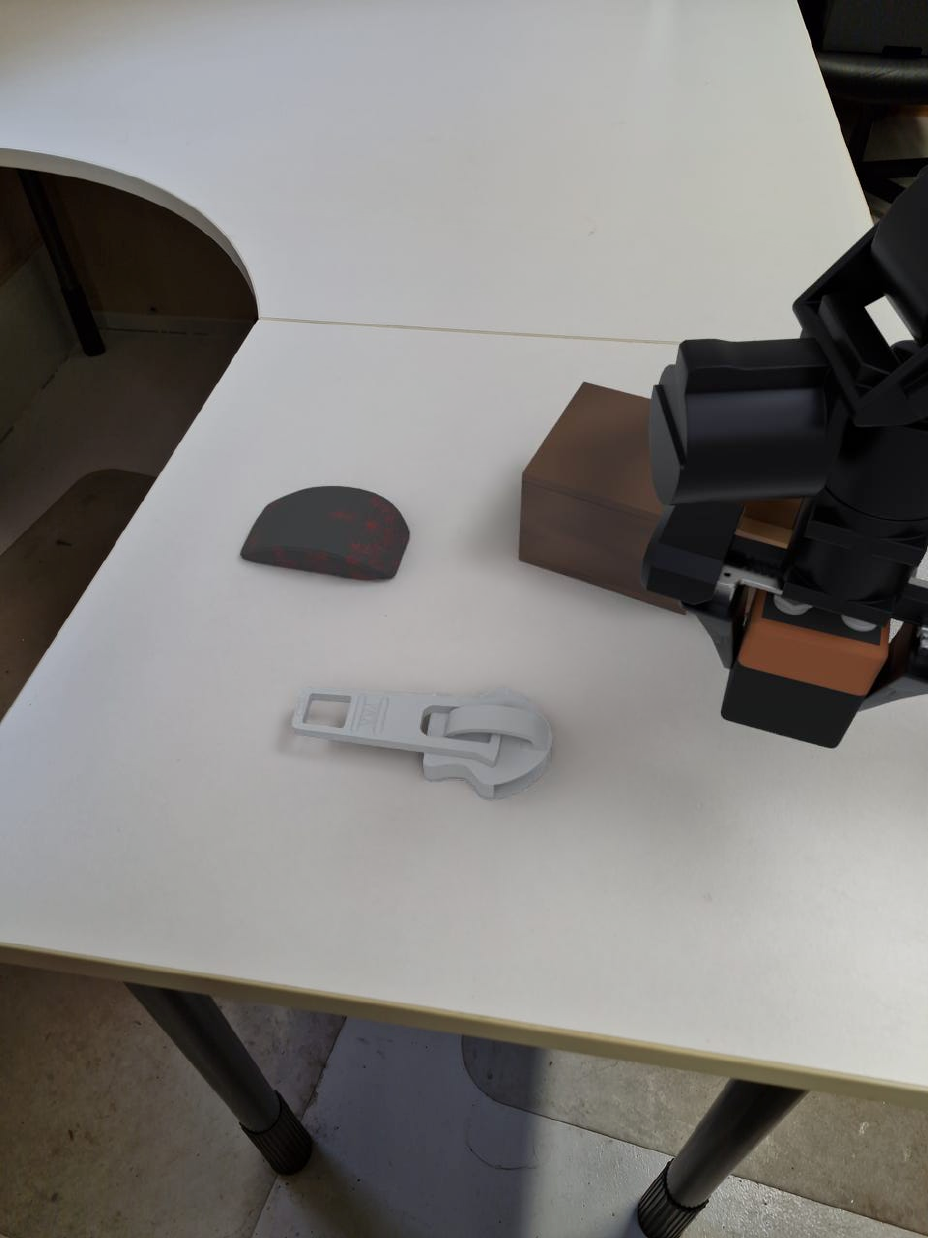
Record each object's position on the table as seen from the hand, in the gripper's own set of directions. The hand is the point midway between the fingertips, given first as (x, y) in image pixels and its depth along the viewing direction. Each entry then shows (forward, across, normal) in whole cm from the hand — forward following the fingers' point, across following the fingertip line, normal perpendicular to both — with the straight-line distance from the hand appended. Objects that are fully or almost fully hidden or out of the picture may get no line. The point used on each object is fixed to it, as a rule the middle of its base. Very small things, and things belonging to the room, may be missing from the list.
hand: (792, 683), depth 50 cm
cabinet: (+12, +15, -20) cm, 28 cm away
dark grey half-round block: (+12, +38, -8) cm, 41 cm away
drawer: (+11, +2, -20) cm, 23 cm away
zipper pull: (+12, +22, +6) cm, 25 cm away
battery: (+3, 0, 0) cm, 3 cm away
